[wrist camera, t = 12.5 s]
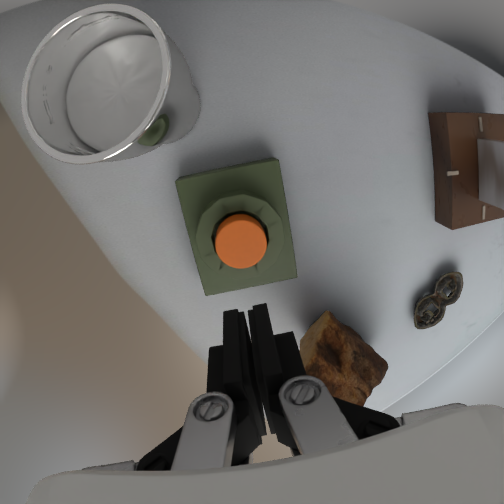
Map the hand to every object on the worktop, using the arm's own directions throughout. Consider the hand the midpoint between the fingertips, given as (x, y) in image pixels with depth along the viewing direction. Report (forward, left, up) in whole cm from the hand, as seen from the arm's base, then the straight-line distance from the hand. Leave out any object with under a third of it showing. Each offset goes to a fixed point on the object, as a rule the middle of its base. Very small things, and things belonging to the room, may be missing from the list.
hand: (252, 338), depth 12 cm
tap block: (-2, +24, -16) cm, 29 cm away
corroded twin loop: (+13, +20, -16) cm, 29 cm away
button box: (0, 0, -16) cm, 16 cm away
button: (0, 0, -13) cm, 13 cm away
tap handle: (-2, +24, -13) cm, 27 cm away
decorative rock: (+14, +7, -16) cm, 23 cm away
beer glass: (-11, -4, -16) cm, 20 cm away
